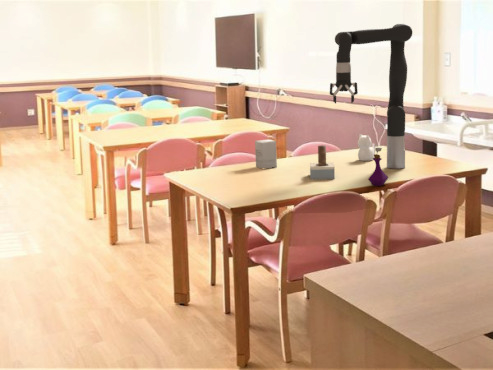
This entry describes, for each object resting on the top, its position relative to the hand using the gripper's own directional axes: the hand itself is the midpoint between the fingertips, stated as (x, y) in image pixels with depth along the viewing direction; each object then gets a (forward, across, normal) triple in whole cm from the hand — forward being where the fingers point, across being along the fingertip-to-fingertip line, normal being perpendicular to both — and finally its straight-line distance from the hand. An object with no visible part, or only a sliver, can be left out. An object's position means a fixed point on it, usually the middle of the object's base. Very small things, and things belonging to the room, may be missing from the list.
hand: (343, 103), depth 372 cm
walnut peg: (+36, +12, +14) cm, 41 cm away
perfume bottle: (+36, -14, +36) cm, 53 cm away
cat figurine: (+36, -15, -32) cm, 51 cm away
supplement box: (+36, +42, -16) cm, 58 cm away
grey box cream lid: (+36, +12, +14) cm, 41 cm away
